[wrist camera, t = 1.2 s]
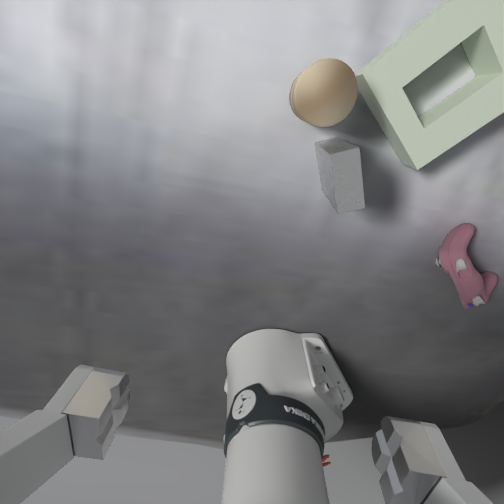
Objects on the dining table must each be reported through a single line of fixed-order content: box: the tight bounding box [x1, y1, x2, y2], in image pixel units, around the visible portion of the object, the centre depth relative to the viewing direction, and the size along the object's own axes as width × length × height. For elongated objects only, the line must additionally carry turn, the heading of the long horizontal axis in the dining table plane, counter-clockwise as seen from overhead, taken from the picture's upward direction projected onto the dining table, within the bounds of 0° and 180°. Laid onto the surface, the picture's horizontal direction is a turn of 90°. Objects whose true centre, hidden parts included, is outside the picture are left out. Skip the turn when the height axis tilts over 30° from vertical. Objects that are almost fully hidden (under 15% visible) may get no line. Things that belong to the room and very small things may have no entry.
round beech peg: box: [289, 58, 358, 127], centre depth 29 cm, size 5×5×8 cm
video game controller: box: [436, 223, 498, 309], centre depth 38 cm, size 10×5×7 cm, turn 36°
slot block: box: [355, 0, 504, 170], centre depth 30 cm, size 11×12×4 cm
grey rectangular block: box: [315, 137, 365, 214], centre depth 31 cm, size 2×6×9 cm, turn 14°
